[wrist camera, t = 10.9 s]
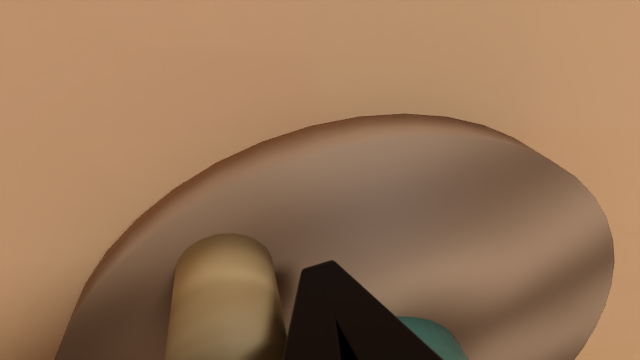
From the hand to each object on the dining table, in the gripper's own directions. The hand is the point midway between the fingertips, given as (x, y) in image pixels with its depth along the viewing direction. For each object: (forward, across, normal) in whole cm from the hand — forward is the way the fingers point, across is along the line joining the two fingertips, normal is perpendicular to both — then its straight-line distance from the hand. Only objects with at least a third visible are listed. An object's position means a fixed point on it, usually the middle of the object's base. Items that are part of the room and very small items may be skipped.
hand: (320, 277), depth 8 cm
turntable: (+4, -1, +8) cm, 9 cm away
